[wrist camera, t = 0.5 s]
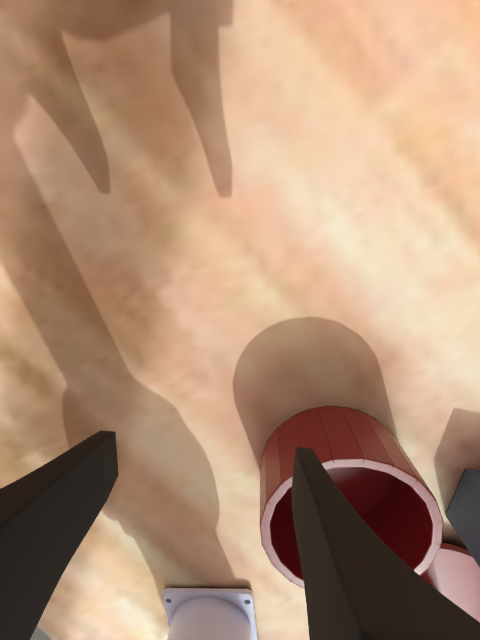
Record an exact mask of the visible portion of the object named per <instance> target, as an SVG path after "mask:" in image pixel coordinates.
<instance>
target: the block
mask: <svg viewBox="0 0 480 640" xmlns="http://www.w3.org/2000/svg"><path fill="white" fill-rule="evenodd" d="M446 517H447V519H448V520H449V522H450V523H451V525H452V526H453V528H454V529H455V531H456V532H457V534H458V535H459V537H460V538H461V540H462V541H463V543H464V544H465V546H466V548H467V549H468V551H469V552H470V554H471V555H472V557H473V558H474V560H475V561H476V563H477V564H478V566H479V567H480V471H476V470H470V469H465V471H464V474H463V476H462V478H461V481H460V483H459V485H458V488H457V490H456V492H455V494H454V497H453V499H452V501H451V504H450V506H449V508H448V511H447V513H446Z"/></svg>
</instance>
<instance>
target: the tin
mask: <svg viewBox="0 0 480 640" xmlns="http://www.w3.org/2000/svg"><path fill="white" fill-rule="evenodd" d="M296 447H302V448H312V449H313V450H314V452H315V453H316V455H317V457H318V458H319V460H320V462H321V463H322V465H323V466H324V468H325V470H326V471H327V473H328V474H329V476H330V477H331V479H332V480H333V481H334V483H335V484H336V486H337V487H338V488H339V490H340V491H341V493H342V494H343V495H344V497H345V498H346V499H347V501H348V502H349V503H350V504H351V506H352V507H353V508H354V509H355V511H356V512H357V513H358V514H359V516H360V517H361V518H362V519H363V520H364V521H365V523H366V524H367V525H368V526H369V527H370V528H371V529H372V530H373V531H374V533H375V534H376V535H377V536H378V537H379V538H380V539H381V540H382V541H383V542H384V543H385V544H386V545H387V546H388V547H389V548H390V549H391V550H392V551H393V552H394V553H395V554H397V555H398V556H399V557H400V558H401V559H402V560H403V561H404V562H405V563H406V564H407V565H408V566H409V567H411V568H412V569H413V570H414V571H415V572H416V573H417V574H419V575H421V574H422V573H423V572H424V571H425V570H426V569H427V568H428V567H429V566H430V564H432V562H433V560H434V558H435V556H436V554H437V552H438V550H439V548H440V546H441V543H442V532H443V518H442V515H441V513H440V510H439V507H438V504H437V501H436V499H435V497H434V495H433V494H432V492H431V491H430V489H429V488H428V486H427V485H426V483H425V482H424V480H423V479H422V477H421V476H420V474H419V473H418V471H417V470H416V468H415V467H414V465H413V464H412V462H411V461H410V459H409V458H408V456H407V455H406V453H405V452H404V450H403V449H402V447H401V446H400V444H399V443H398V441H397V440H396V439H395V438H394V436H393V435H392V434H391V432H390V431H389V430H388V429H387V428H386V427H385V426H384V425H383V424H382V423H380V422H379V421H378V420H376V419H375V418H373V417H371V416H369V415H368V414H366V413H363V412H360V411H358V410H354V409H350V408H344V407H320V408H315V409H311V410H307V411H304V412H302V413H299V414H297V415H295V416H293V417H291V418H290V419H288V420H287V421H285V422H284V423H283V424H282V425H281V426H279V427H278V428H277V429H276V431H275V432H274V433H273V434H272V435H271V437H270V438H269V440H268V442H267V444H266V446H265V448H264V452H263V455H262V462H261V476H260V531H261V540H262V546H263V548H264V550H265V551H266V553H267V555H268V557H269V559H270V561H271V563H272V564H273V566H274V567H275V568H276V569H277V570H279V571H280V572H281V573H282V574H283V575H284V576H285V577H286V578H287V579H288V580H290V581H291V582H292V583H294V584H296V585H298V586H300V587H302V588H304V589H305V587H304V581H303V575H302V569H301V563H300V558H299V552H298V546H297V540H296V534H295V528H294V521H293V510H292V494H291V489H292V479H293V469H294V459H295V449H296Z"/></svg>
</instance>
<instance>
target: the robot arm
mask: <svg viewBox="0 0 480 640" xmlns="http://www.w3.org/2000/svg"><path fill="white" fill-rule="evenodd" d="M117 477H118V462H117V448H116V435H115V432H112V431H99V432H97V433H95V434H94V435H92V436H90V437H89V438H87V439H86V440H84V441H82V442H81V443H79V444H78V445H76V446H74V447H73V448H71V449H70V450H68V451H66V452H65V453H63V454H62V455H60V456H58V457H57V458H55V459H53V460H52V461H50V462H48V463H47V464H45V465H43V466H42V467H40V468H38V469H36V470H35V471H33V472H31V473H29V474H28V475H26V476H24V477H22V478H21V479H19V480H17V481H15V482H13V483H11V484H9V485H7V486H5V487H3V488H1V489H0V640H30V638H31V636H32V634H33V632H34V630H35V628H36V626H37V624H38V622H39V620H40V618H41V616H42V613H43V611H44V609H45V607H46V605H47V603H48V601H49V599H50V597H51V595H52V593H53V591H54V589H55V587H56V585H57V583H58V581H59V580H60V578H61V576H62V574H63V572H64V570H65V568H66V567H67V565H68V563H69V561H70V560H71V558H72V556H73V555H74V553H75V552H76V550H77V548H78V547H79V545H80V543H81V542H82V540H83V539H84V537H85V535H86V534H87V532H88V530H89V529H90V527H91V525H92V524H93V522H94V521H95V519H96V517H97V516H98V514H99V512H100V511H101V509H102V507H103V506H104V504H105V502H106V501H107V499H108V496H109V494H110V492H111V490H112V488H113V486H114V483H115V481H116V479H117ZM291 494H292V510H293V521H294V528H295V534H296V540H297V546H298V552H299V558H300V563H301V569H302V575H303V581H304V587H305V595H306V603H307V614H308V625H309V637H310V640H480V622H479V621H477V620H476V619H475V618H473V617H472V616H471V615H469V614H468V613H467V612H465V611H464V610H463V609H461V608H460V607H459V606H457V605H456V604H455V603H453V602H452V601H451V600H449V599H448V598H447V597H445V596H444V595H443V594H441V593H440V592H439V591H438V590H437V589H435V588H434V587H433V586H432V585H431V584H429V583H428V582H427V581H426V580H424V579H423V578H422V577H421V576H420V575H419V574H417V573H416V572H415V571H414V570H413V569H412V568H411V567H409V566H408V565H407V564H406V563H405V562H404V561H403V560H402V559H401V558H400V557H399V556H398V555H397V554H395V553H394V552H393V551H392V550H391V549H390V548H389V547H388V546H387V545H386V544H385V543H384V542H383V541H382V540H381V539H380V538H379V537H378V536H377V535H376V534H375V533H374V531H373V530H372V529H371V528H370V527H369V526H368V525H367V524H366V523H365V521H364V520H363V519H362V518H361V517H360V516H359V514H358V513H357V512H356V511H355V509H354V508H353V507H352V506H351V504H350V503H349V502H348V501H347V499H346V498H345V497H344V495H343V494H342V493H341V491H340V490H339V488H338V487H337V486H336V484H335V483H334V481H333V480H332V479H331V477H330V476H329V474H328V473H327V471H326V470H325V468H324V466H323V465H322V463H321V462H320V460H319V458H318V457H317V455H316V453H315V452H314V450H313V449H312V448H302V447H296V449H295V459H294V469H293V479H292V489H291ZM163 600H164V605H165V609H166V614H167V618H168V623H169V628H170V631H169V635H168V639H167V640H258V635H257V627H256V619H255V610H254V602H253V593H252V591H251V590H249V589H225V588H166V589H165V590H164V592H163Z"/></svg>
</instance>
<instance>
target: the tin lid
mask: <svg viewBox="0 0 480 640" xmlns="http://www.w3.org/2000/svg"><path fill="white" fill-rule="evenodd" d="M420 576H421V577H422V578H423V579H424V580H426V581H427V582H428V583H429V584H431V585H432V586H433V587H434V588H435V589H437V590H438V591H439V592H440V593H441V594H443V595H444V596H445V597H447V598H448V599H449V600H451V601H452V602H453V603H455V604H456V605H457V606H459V607H460V608H461V609H463V610H464V611H465V612H467V613H468V614H469V615H471V616H472V617H473V618H475V619H476V620H477V621H479V622H480V567H479V566H478V564H477V563H476V561H475V560H474V558H473V557H472V555H471V554H470V552H469V551H468V550H466V549H463V548H461V547H458V546H455V545H451V544H447V543H441V546H440V548H439V550H438V552H437V554H436V556H435V558H434V560H433V562H432V564H430V566H429V567H428V568H427V569H426V570H425V571H424V572H423V573H422V574H421V575H420Z"/></svg>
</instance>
